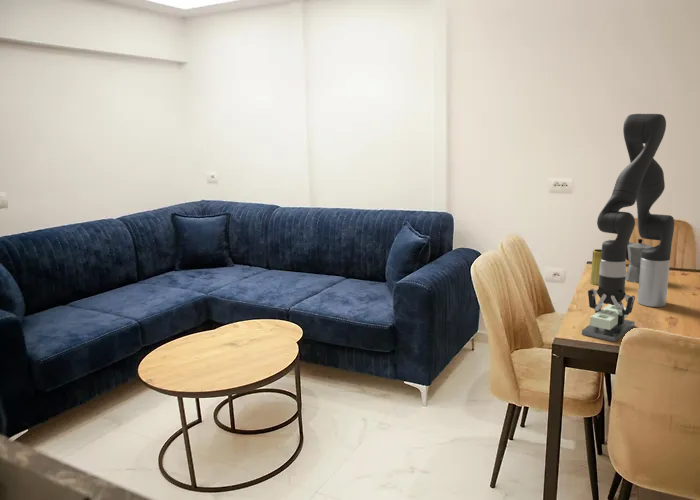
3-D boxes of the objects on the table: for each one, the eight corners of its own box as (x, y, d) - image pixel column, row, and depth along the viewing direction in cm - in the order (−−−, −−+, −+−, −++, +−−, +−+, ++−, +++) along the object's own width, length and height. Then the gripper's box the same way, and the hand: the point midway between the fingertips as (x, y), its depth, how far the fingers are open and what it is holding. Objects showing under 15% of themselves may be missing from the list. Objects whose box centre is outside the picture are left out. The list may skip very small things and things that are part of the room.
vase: (607, 285, 221) (609, 252, 218) (591, 285, 222) (593, 252, 219) (603, 281, 226) (605, 249, 223) (588, 281, 228) (590, 248, 225)
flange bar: (608, 312, 179) (609, 304, 179) (627, 316, 175) (628, 307, 175) (589, 325, 169) (590, 316, 168) (609, 329, 164) (610, 320, 164)
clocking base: (603, 319, 182) (604, 302, 181) (634, 325, 175) (635, 308, 174) (581, 334, 170) (582, 316, 169) (614, 342, 163) (615, 323, 162)
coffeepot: (658, 283, 221) (662, 240, 217) (639, 285, 219) (642, 242, 215) (631, 274, 236) (634, 234, 232) (613, 276, 234) (615, 236, 230)
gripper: (584, 272, 171) (581, 321, 175) (632, 279, 161) (628, 331, 164) (593, 267, 176) (591, 315, 180) (640, 274, 166) (636, 325, 170)
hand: (609, 323), depth 172 cm, fingers closed on flange bar, 6 cm apart
